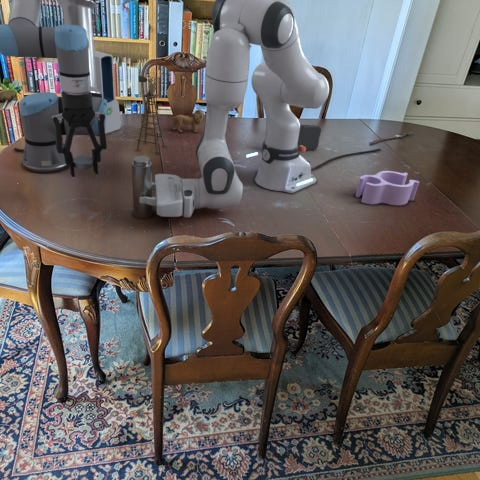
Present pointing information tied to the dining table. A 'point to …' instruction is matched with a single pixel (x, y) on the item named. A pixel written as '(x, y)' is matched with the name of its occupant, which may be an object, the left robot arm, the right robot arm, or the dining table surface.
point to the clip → (386, 188)
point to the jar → (141, 185)
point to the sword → (389, 138)
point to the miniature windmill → (150, 95)
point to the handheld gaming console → (309, 136)
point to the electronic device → (107, 89)
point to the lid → (83, 162)
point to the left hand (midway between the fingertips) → (84, 173)
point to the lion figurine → (189, 120)
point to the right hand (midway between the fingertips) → (139, 193)
